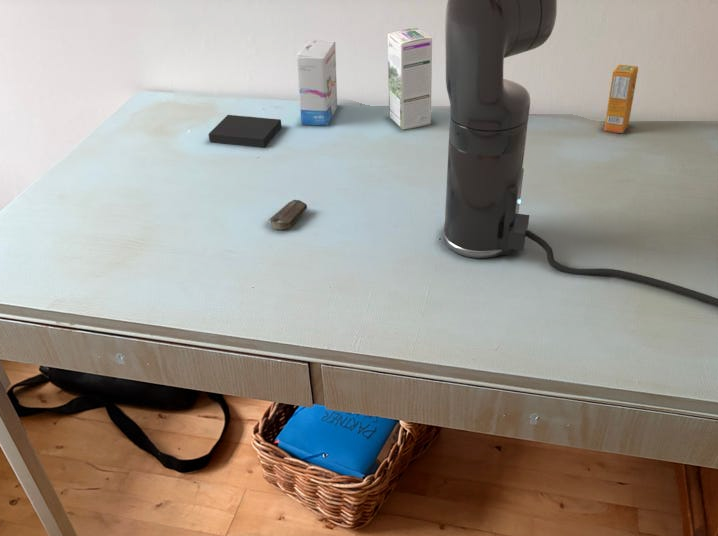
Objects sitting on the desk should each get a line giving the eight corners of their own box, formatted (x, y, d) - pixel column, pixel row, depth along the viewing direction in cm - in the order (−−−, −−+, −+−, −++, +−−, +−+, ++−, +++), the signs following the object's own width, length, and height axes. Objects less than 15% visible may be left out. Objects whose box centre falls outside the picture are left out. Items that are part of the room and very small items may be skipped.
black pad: (281, 127, 130) (280, 119, 129) (264, 147, 124) (263, 139, 123) (229, 122, 132) (227, 114, 131) (209, 142, 126) (208, 133, 125)
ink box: (328, 126, 129) (324, 56, 121) (300, 125, 130) (294, 55, 122) (339, 106, 135) (335, 39, 128) (312, 105, 136) (307, 38, 128)
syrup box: (432, 124, 128) (434, 36, 119) (400, 130, 127) (400, 42, 117) (417, 112, 132) (419, 26, 123) (387, 118, 131) (386, 32, 121)
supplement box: (607, 123, 126) (619, 62, 119) (628, 126, 124) (641, 66, 118) (601, 130, 124) (613, 69, 117) (622, 134, 122) (635, 73, 116)
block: (308, 212, 107) (307, 201, 106) (288, 233, 103) (286, 221, 102) (287, 207, 109) (285, 196, 107) (265, 227, 105) (264, 216, 103)
